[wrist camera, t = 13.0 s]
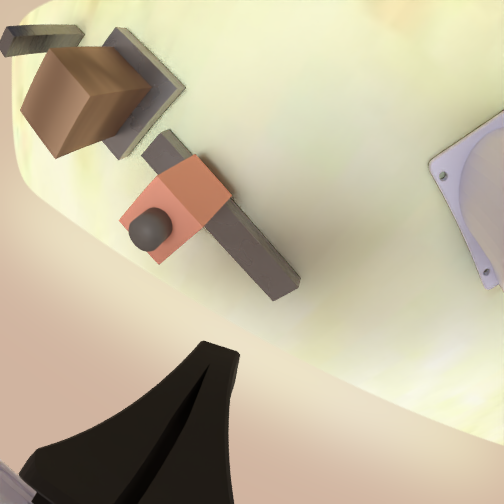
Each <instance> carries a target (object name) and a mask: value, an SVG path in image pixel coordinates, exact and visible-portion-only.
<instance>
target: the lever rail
mask: <svg viewBox="0 0 504 504" xmlns="http://www.w3.org/2000/svg"><path fill="white" fill-rule="evenodd" d="M141 156H142V157H143V158H144V159H145V160H146V162H147V163H148V164H149V165H150V166H151V167H152V168H153V170H154V171H155V172H156V173H157V174H158V175H159V174H161V173H162V172H164V171H166V170H168V169H169V168H171V167H173V166H175V165H176V164H178V163H180V162H182V161H184V160H185V159H187V158H189V157H191V156H193V155H192V154H191V153H190V152H189V151H188V149H187V148H186V147H185V146H184V145H183V144H182V143H181V142H180V141H179V140H178V138H177V137H176V136H175V135H174V134H173V133H172V132H171V131H170V130H166V131H163V132H161V133H160V134H159V135H158V136H157V137H156V138H155V140H154V141H153V142H152V143H151V144H150V146H149V147H148V148H147V149H146V150H145V152H144V153H143V154H142V155H141ZM205 228H206V229H207V230H208V231H209V232H210V233H211V234H212V235H213V236H214V237H215V239H216V240H217V241H218V242H219V243H220V244H221V245H222V246H223V247H224V248H225V250H226V251H227V252H228V253H229V254H230V255H231V256H232V257H233V258H234V259H235V260H236V262H237V263H238V264H239V265H240V266H241V267H242V268H243V269H244V270H245V271H246V272H247V274H248V275H249V276H250V277H251V278H252V279H253V280H254V281H255V282H256V283H257V284H258V285H259V287H260V288H261V289H262V290H263V291H264V292H265V293H266V294H267V295H268V296H269V297H270V298H271V299H272V301H275V300H277V299H279V298H280V297H282V296H284V295H286V294H288V293H290V292H292V291H293V290H295V289H297V288H298V287H299V283H300V279H301V278H300V277H299V276H298V275H297V274H296V272H295V271H294V270H293V269H292V268H291V267H290V265H289V264H288V263H287V262H286V261H285V260H284V258H283V257H282V256H281V255H280V254H279V253H278V252H277V250H276V249H275V248H274V247H273V246H272V245H271V243H270V242H269V241H268V240H267V239H266V238H265V237H264V235H263V234H262V233H261V232H260V231H259V230H258V229H257V227H256V226H255V225H254V224H253V223H252V222H251V220H250V219H249V218H248V217H247V216H246V215H245V214H244V213H243V211H242V210H241V209H240V208H239V207H238V206H237V205H236V203H235V202H234V201H233V200H232V199H231V198H229V199H228V201H227V202H226V203H225V204H224V205H223V206H222V207H221V208H220V209H219V210H218V211H217V212H216V214H215V215H214V216H213V217H212V218H211V219H210V220H209V221H208V222H207V223H206V225H205Z"/></svg>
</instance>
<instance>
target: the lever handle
mask: <svg viewBox="0 0 504 504" xmlns="http://www.w3.org/2000/svg"><path fill="white" fill-rule="evenodd" d="M231 196H232V195H231V193H230V192H229V191H228V190H227V189H226V188H225V187H224V186H223V184H222V183H221V182H220V181H219V180H218V179H217V178H216V176H215V175H214V174H213V173H212V172H211V171H210V170H209V169H208V168H207V166H206V165H205V164H204V163H203V162H202V161H201V160H200V159H199V157H198V156H197V155H196V154H195V155H193V156H191V157H189V158H187V159H185V160H184V161H182V162H180V163H178V164H176V165H175V166H173V167H171V168H169V169H168V170H166V171H164V172H162V173H161V174H159V175H157V176H156V177H155V178H154V179H153V181H152V182H151V183H150V184H149V185H148V186H147V187H146V189H145V190H144V191H143V192H142V193H141V194H140V196H139V197H138V198H137V199H136V200H135V201H134V203H133V204H132V205H131V206H130V207H129V209H128V210H127V211H126V212H125V213H124V215H123V216H122V217H121V218H120V220H119V221H120V222H121V224H122V225H123V226H124V227H125V228H126V229H127V230H128V231H129V236H130V238H131V240H132V242H133V243H134V244H135V245H136V246H137V247H138V248H139V249H141V250H143V251H147V252H148V254H149V255H150V256H151V257H152V258H153V259H154V260H155V261H156V262H157V263H158V264H160V263H162V262H163V261H164V260H165V259H166V258H167V257H169V256H170V255H171V254H172V253H173V252H174V251H176V250H177V249H178V248H179V247H180V246H181V245H183V244H184V243H185V242H186V241H187V240H188V239H190V238H191V237H192V236H193V235H194V234H196V233H197V232H198V231H199V230H200V229H202V228H203V227H204V226H205V225H206V223H207V222H208V221H209V220H210V219H211V218H212V217H213V216H214V215H215V214H216V212H217V211H218V210H219V209H220V208H221V207H222V206H223V205H224V204H225V203H226V202H227V201H228V199H229V198H230V197H231Z"/></svg>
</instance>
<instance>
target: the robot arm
mask: <svg viewBox="0 0 504 504" xmlns="http://www.w3.org/2000/svg"><path fill="white" fill-rule="evenodd" d="M429 171H430V173H431V174H432V176H433V178H434V180H435V181H436V183H437V185H438V187H439V189H440V191H441V192H442V194H443V196H444V198H445V200H446V202H447V204H448V206H449V208H450V210H451V212H452V214H453V216H454V218H455V220H456V222H457V224H458V226H459V228H460V230H461V233H462V235H463V237H464V239H465V241H466V244H467V246H468V248H469V251H470V253H471V255H472V258H473V260H474V263H475V265H476V268H477V270H478V273H479V275H480V278H481V281H482V283H483V286H484V287H485V289H492V288H493V287H495V286H497V285H498V284H499V285H500V287H501V288H502V290H503V292H504V111H502V112H501V113H499V114H498V115H496V116H495V117H493V118H492V119H491V120H489V121H488V122H486V123H485V124H483V125H482V126H480V127H479V128H477V129H476V130H474V131H473V132H472V133H470V134H469V135H467V136H466V137H464V138H463V139H461V140H460V141H458V142H457V143H455V144H454V145H452V146H451V147H449V148H448V149H446V150H445V151H443V152H442V153H440V154H439V155H437V156H436V157H434V158H433V159H432V160H431V161H430V163H429ZM443 171H444V172H445V173H446V175H445V177H444V179H439V174H440V173H441V172H443ZM485 269H488V270H487V271H486V272H484V270H485ZM239 357H240V354H239V353H238V352H237V351H234V350H231V349H228V348H225V347H221V346H218V345H215V344H212V343H209V342H206V341H201V342H200V343H199V344H198V345H197V347H196V348H195V349H194V350H193V351H192V352H191V353H190V354H189V355H188V356H187V357H186V359H184V360H183V362H182V363H180V364H179V365H178V366H177V367H176V368H175V369H174V370H173V371H172V372H171V373H170V374H169V375H168V376H166V377H165V378H164V379H163V380H162V381H161V382H160V383H159V384H157V385H156V386H155V387H154V388H152V389H151V390H150V391H149V392H148V393H146V394H145V395H143V396H142V397H141V398H140V399H138V400H137V401H135V402H134V403H133V404H131V405H130V406H128V407H127V408H125V409H124V410H122V411H121V412H119V413H117V414H116V415H114V416H112V417H111V418H109V419H107V420H105V421H104V422H102V423H100V424H98V425H96V426H94V427H92V428H90V429H88V430H86V431H84V432H82V433H79V434H77V435H75V436H73V437H70V438H68V439H65V440H62V441H60V442H57V443H54V444H51V445H48V446H44V447H41V448H38V449H37V450H36V451H35V452H34V453H33V454H32V455H31V456H30V457H29V459H28V460H27V462H26V463H25V465H24V467H23V468H22V469H21V471H20V472H19V476H18V475H17V474H16V473H15V472H14V471H13V470H12V469H10V468H9V467H8V466H7V465H6V464H5V463H4V462H3V461H2V460H1V459H0V504H234V499H233V492H232V485H231V475H230V463H229V444H228V443H229V442H228V427H229V426H228V425H229V405H230V397H231V393H232V390H233V387H234V383H235V379H236V374H237V368H238V363H239Z"/></svg>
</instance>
